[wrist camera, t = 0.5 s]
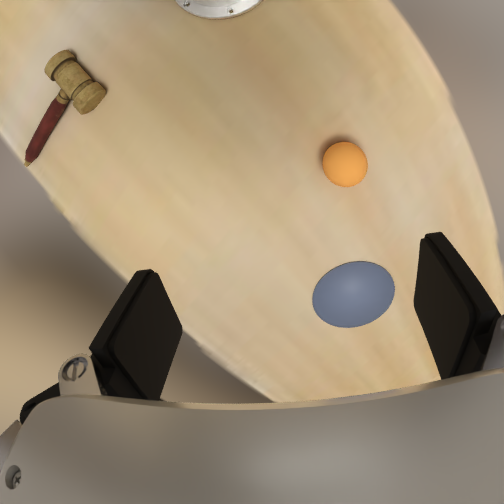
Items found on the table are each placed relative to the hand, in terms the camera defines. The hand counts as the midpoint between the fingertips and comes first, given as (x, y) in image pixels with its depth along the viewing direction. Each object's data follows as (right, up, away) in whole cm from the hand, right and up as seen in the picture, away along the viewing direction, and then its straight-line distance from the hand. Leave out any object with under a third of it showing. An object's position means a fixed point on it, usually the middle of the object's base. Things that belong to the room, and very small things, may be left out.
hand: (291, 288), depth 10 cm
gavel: (-32, +22, +27) cm, 47 cm away
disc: (+15, -6, +38) cm, 42 cm away
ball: (+10, +12, +24) cm, 29 cm away
